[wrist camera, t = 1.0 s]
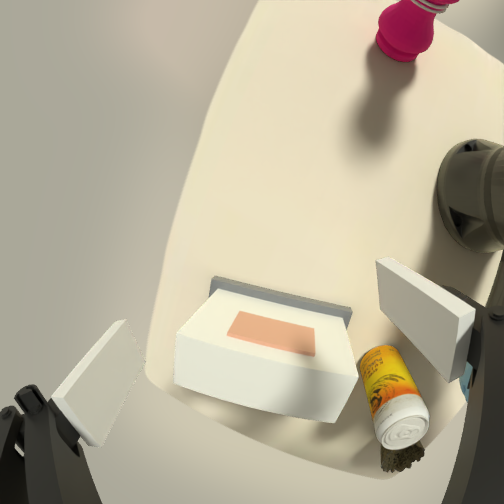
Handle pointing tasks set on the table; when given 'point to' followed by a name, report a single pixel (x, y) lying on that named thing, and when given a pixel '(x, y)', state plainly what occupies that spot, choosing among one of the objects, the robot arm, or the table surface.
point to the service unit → (268, 351)
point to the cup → (400, 457)
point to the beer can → (393, 399)
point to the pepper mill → (408, 27)
